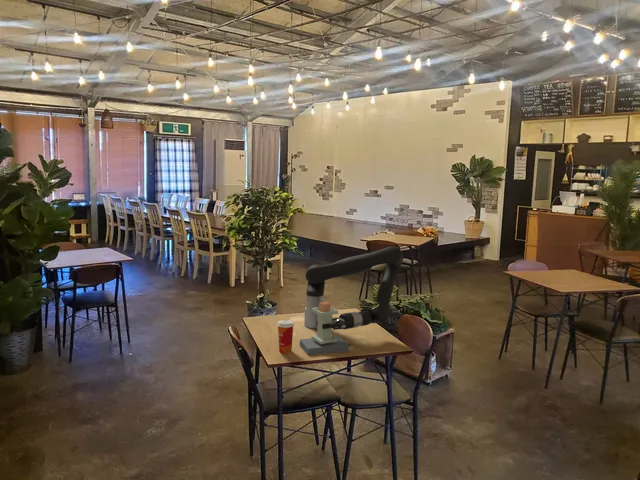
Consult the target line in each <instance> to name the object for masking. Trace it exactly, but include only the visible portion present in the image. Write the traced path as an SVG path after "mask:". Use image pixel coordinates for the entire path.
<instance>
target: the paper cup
mask: <svg viewBox="0 0 640 480" xmlns="http://www.w3.org/2000/svg"><path fill="white" fill-rule="evenodd" d="M294 326H295V324H294V322H293V320H289V319H287V320H286V319H284V320H283V319H281V320H278V322H277V331H278V335H277V337H278V352H279V353H280V354H285V355H286V354H291V353H292V350H293V349H292V347H293V336H294Z"/></svg>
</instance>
